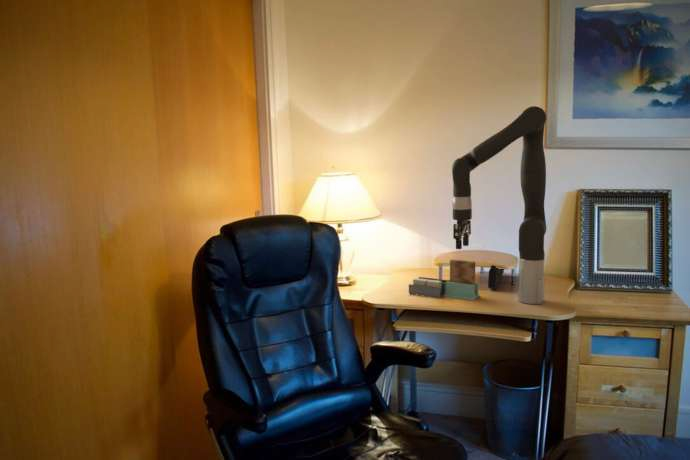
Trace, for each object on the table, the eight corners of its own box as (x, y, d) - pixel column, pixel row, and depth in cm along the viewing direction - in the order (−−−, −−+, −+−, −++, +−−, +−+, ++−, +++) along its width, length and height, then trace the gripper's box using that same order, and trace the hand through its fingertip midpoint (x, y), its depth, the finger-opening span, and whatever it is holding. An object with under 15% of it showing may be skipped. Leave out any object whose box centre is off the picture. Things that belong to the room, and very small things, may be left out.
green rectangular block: (479, 295, 213) (479, 281, 212) (473, 300, 207) (473, 286, 206) (451, 292, 220) (451, 278, 219) (444, 296, 213) (444, 282, 212)
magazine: (495, 271, 216) (503, 239, 242) (487, 271, 217) (496, 239, 243) (496, 307, 223) (504, 272, 249) (488, 306, 224) (497, 271, 250)
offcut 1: (428, 290, 219) (428, 279, 218) (425, 292, 216) (425, 280, 216) (416, 289, 222) (416, 278, 221) (413, 291, 219) (413, 279, 219)
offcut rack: (449, 291, 221) (449, 280, 220) (440, 298, 211) (440, 286, 211) (419, 287, 228) (419, 276, 227) (408, 293, 219) (408, 282, 218)
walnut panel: (474, 295, 211) (475, 261, 209) (473, 296, 209) (473, 262, 207) (451, 292, 216) (451, 259, 214) (449, 293, 215) (450, 260, 213)
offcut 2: (441, 292, 216) (441, 281, 215) (438, 294, 213) (438, 282, 213) (429, 291, 219) (429, 279, 218) (426, 292, 216) (426, 281, 215)
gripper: (465, 209, 200) (465, 251, 202) (476, 206, 212) (476, 245, 214) (446, 209, 204) (447, 249, 206) (459, 205, 216) (459, 244, 218)
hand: (462, 247), depth 210 cm, fingers open, 8 cm apart
